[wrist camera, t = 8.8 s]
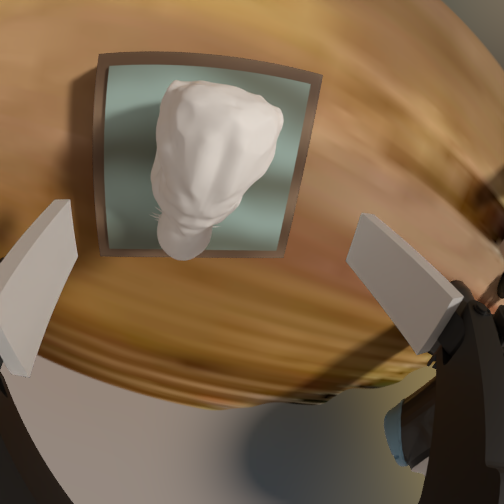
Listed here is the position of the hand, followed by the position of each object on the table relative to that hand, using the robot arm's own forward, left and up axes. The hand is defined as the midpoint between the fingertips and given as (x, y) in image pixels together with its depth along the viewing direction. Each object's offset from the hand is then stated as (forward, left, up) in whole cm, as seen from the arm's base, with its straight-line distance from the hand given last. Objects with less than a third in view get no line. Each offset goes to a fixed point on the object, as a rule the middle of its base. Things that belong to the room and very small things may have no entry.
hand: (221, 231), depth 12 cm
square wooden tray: (0, 0, -14) cm, 14 cm away
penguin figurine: (0, +1, -10) cm, 10 cm away
